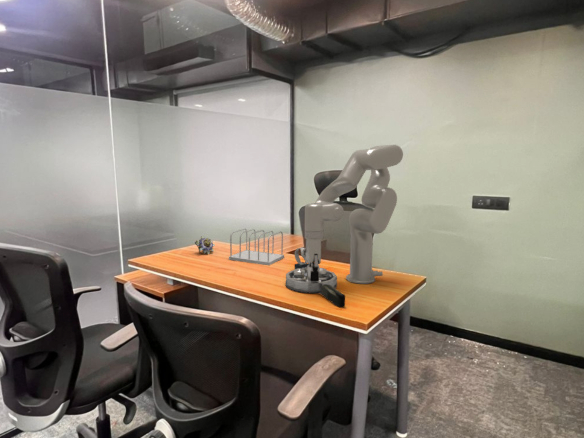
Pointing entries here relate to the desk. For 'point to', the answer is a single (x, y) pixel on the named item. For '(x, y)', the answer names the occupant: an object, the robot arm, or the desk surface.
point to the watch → (300, 264)
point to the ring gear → (310, 285)
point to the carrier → (300, 276)
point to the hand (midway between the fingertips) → (313, 278)
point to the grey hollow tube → (310, 274)
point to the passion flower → (205, 245)
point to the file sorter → (256, 255)
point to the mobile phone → (333, 295)
